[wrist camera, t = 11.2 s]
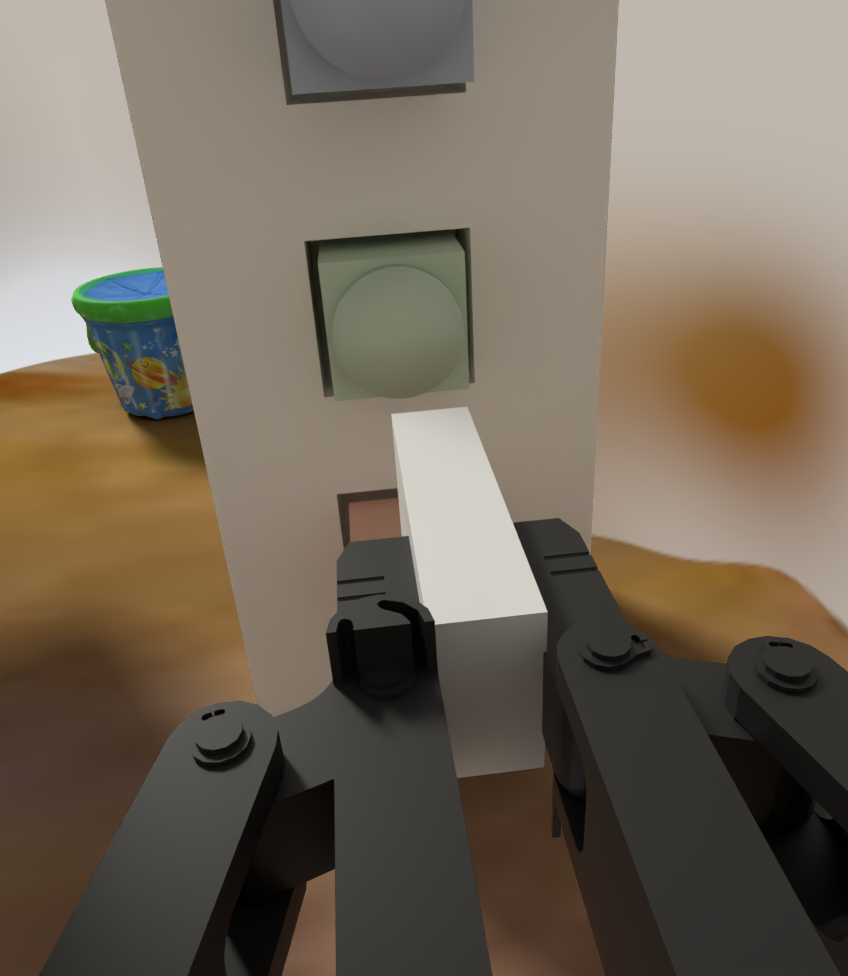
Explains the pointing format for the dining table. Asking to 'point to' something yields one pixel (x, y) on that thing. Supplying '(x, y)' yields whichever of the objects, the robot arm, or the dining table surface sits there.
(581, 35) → the button pillar
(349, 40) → the slate button
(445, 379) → the sage button
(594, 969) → the dining table surface
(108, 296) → the snack cup
